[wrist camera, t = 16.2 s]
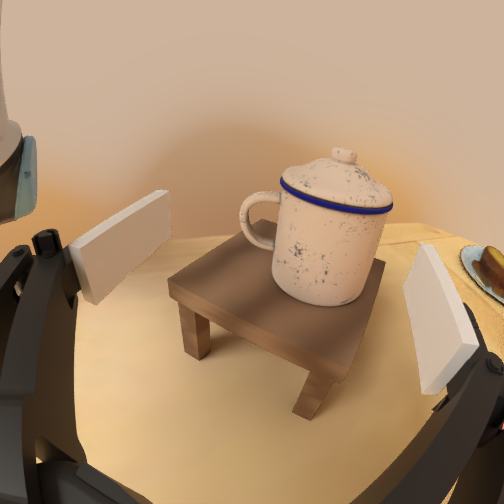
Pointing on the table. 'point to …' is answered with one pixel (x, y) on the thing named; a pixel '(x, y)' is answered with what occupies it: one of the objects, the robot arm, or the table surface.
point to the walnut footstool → (271, 313)
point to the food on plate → (485, 268)
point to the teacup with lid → (323, 228)
